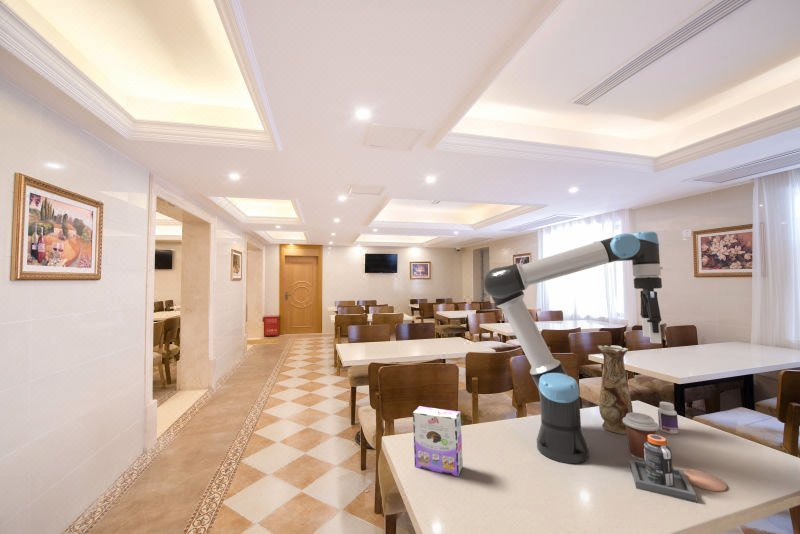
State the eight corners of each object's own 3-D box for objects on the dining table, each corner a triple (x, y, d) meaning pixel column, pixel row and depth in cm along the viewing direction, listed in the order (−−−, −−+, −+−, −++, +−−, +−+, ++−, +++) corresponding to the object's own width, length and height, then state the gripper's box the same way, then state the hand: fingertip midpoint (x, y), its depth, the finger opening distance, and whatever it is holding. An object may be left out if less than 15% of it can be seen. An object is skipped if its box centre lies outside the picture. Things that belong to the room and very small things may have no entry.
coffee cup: (624, 445, 104) (621, 408, 105) (659, 453, 99) (656, 414, 100) (624, 458, 97) (621, 418, 98) (662, 467, 92) (659, 425, 92)
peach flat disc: (685, 485, 83) (685, 482, 84) (676, 468, 91) (676, 465, 91) (732, 495, 79) (732, 493, 79) (719, 476, 87) (718, 474, 87)
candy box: (463, 466, 95) (461, 410, 96) (458, 477, 89) (456, 418, 90) (420, 457, 100) (419, 404, 101) (413, 467, 95) (412, 411, 96)
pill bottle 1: (682, 434, 111) (680, 406, 112) (667, 434, 111) (665, 406, 112) (669, 427, 117) (667, 400, 117) (655, 427, 117) (653, 400, 117)
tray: (636, 488, 83) (635, 481, 83) (630, 465, 93) (629, 459, 93) (696, 502, 77) (696, 495, 77) (683, 476, 87) (682, 469, 87)
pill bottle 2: (680, 488, 82) (676, 443, 82) (654, 485, 83) (650, 441, 83) (665, 474, 87) (662, 432, 88) (641, 472, 89) (638, 431, 89)
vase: (593, 423, 122) (588, 345, 124) (619, 421, 123) (613, 344, 125) (615, 436, 111) (609, 350, 113) (642, 433, 112) (636, 349, 114)
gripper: (670, 275, 95) (675, 347, 93) (653, 277, 116) (658, 335, 115) (639, 276, 99) (644, 345, 97) (628, 278, 120) (633, 334, 119)
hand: (651, 339), depth 106 cm, fingers open, 13 cm apart
